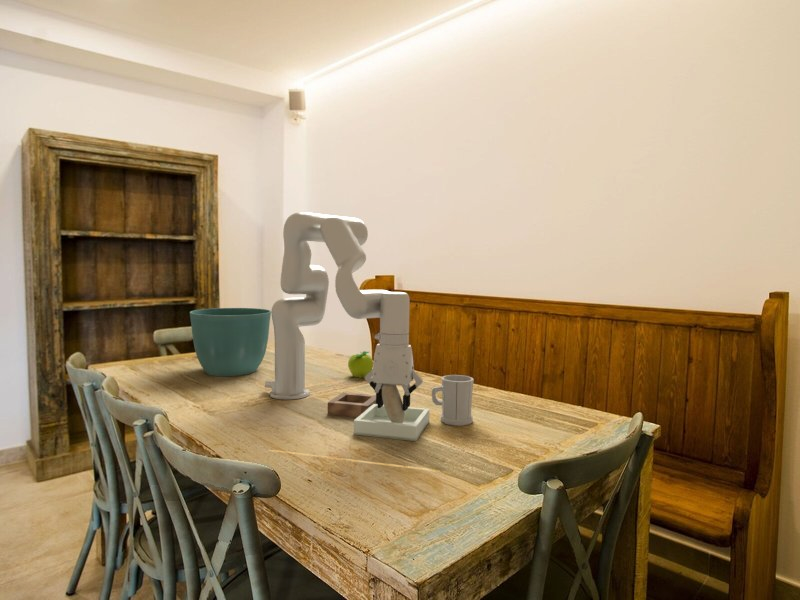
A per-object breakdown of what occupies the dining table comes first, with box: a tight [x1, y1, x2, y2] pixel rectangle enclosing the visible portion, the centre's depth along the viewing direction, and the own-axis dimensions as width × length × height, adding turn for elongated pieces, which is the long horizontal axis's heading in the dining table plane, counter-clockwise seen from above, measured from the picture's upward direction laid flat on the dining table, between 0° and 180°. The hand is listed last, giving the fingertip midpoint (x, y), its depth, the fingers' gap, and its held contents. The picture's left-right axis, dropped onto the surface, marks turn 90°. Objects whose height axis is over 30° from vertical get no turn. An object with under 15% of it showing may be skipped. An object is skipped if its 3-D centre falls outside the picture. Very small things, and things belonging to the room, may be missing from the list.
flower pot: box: [189, 307, 272, 377], centre depth 196 cm, size 30×30×24 cm
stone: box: [382, 384, 405, 424], centre depth 131 cm, size 6×6×12 cm
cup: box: [431, 374, 475, 427], centre depth 137 cm, size 10×9×12 cm
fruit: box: [347, 350, 374, 379], centre depth 190 cm, size 9×9×10 cm
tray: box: [353, 404, 430, 442], centre depth 131 cm, size 16×16×4 cm
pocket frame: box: [327, 392, 376, 418], centre depth 146 cm, size 12×12×4 cm
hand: (392, 407), depth 131 cm, fingers closed on stone, 6 cm apart
